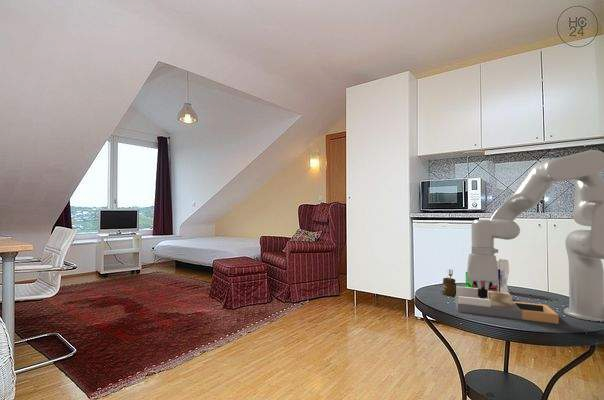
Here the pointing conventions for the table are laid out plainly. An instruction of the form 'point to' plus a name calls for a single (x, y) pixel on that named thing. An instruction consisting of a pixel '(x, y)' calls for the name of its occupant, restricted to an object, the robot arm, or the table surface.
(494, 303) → the block
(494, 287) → the puzzle cube
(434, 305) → the table surface
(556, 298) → the table surface
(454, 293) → the utensil holder
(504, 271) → the beer glass
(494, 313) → the grey compartment tray
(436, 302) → the table surface
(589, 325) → the table surface
